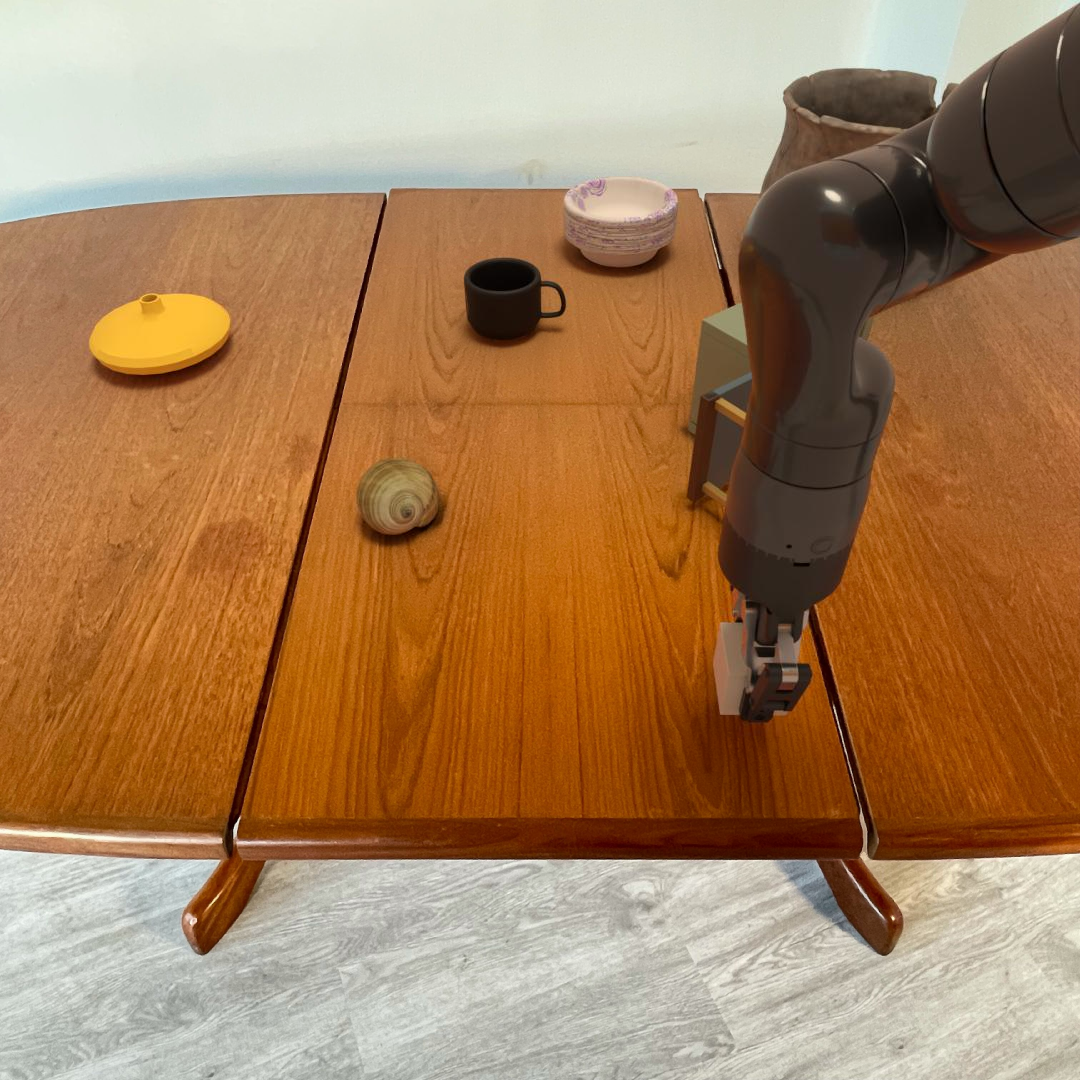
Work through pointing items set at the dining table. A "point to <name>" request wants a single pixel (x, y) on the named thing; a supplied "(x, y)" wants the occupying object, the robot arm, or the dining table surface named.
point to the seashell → (397, 496)
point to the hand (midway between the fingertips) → (749, 685)
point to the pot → (848, 114)
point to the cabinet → (726, 354)
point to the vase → (160, 333)
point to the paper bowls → (620, 219)
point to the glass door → (718, 438)
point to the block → (731, 668)
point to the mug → (506, 298)
